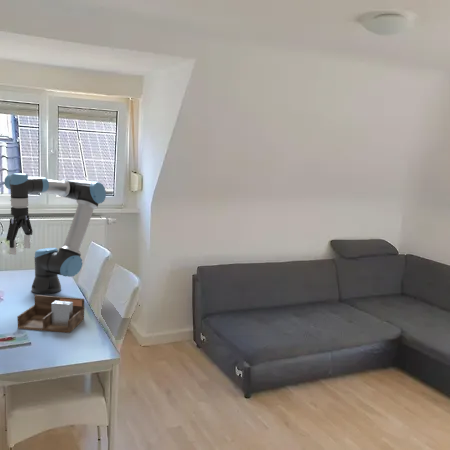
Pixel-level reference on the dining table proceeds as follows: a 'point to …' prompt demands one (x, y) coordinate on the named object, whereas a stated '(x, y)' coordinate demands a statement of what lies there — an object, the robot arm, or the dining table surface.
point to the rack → (50, 314)
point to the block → (61, 312)
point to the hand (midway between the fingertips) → (20, 251)
